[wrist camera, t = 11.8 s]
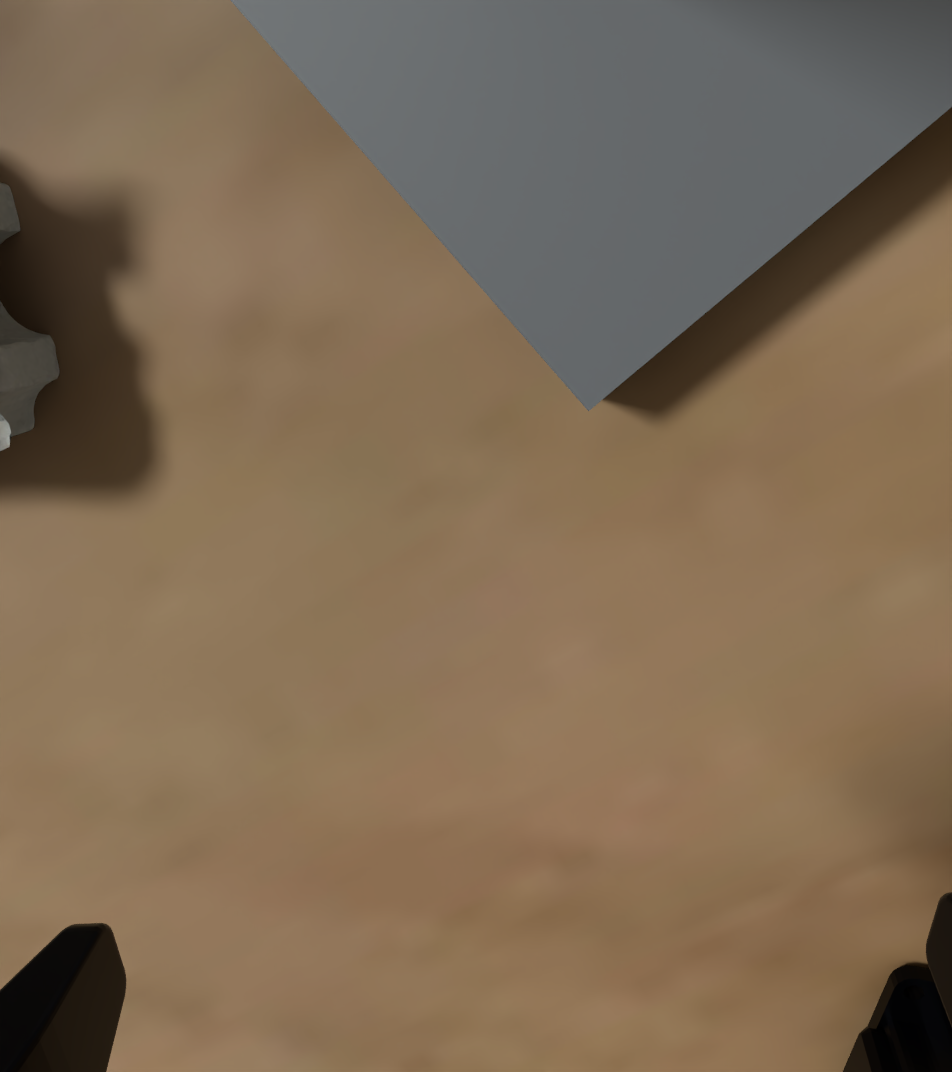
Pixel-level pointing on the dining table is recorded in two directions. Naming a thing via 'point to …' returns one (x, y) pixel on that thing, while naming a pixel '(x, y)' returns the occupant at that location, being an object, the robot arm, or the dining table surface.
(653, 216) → the shelf board
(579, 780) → the dining table surface
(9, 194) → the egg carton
